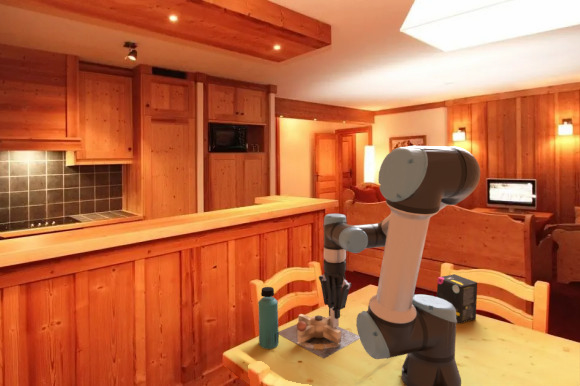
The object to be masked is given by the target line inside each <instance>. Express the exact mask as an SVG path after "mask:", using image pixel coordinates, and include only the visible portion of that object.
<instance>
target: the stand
mask: <svg viewBox="0 0 580 386" xmlns="http://www.w3.org/2000/svg"><path fill="white" fill-rule="evenodd" d="M335 329H337V330H340V331H341V342H340V343H338V344H337V343H335V342H333V341H331V340H329V339H327V338H325V337H324V338H314V337H313V338H311V339H309V340H307V341H305V342H302V343H300V342H298V329H297V323H296V324H292V325H291V326H289V327H287V328H283V329H281V330H278V332H279V336H281V337H282V338H284V339H286V340H289V341H290V342H292V343H294V344H296V345H298V346H299V347H302V348H304V349H305V350H307V351H309V352H310V353H312V354H314V355H316V356H318V357H320V358H322V359H326V358H328V357H329V356H331V355H333V354H335V353H336V352H339V351H341V350H342V349H344V348H346V347H347V346H349V345H351V344H352V343H355V342H356V341H358V340H360V338H359V335H358V333H357V334H356V333H355V332H351V331H349V330H348V329H345V328H342V327H341V326H337V327H335Z"/></svg>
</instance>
